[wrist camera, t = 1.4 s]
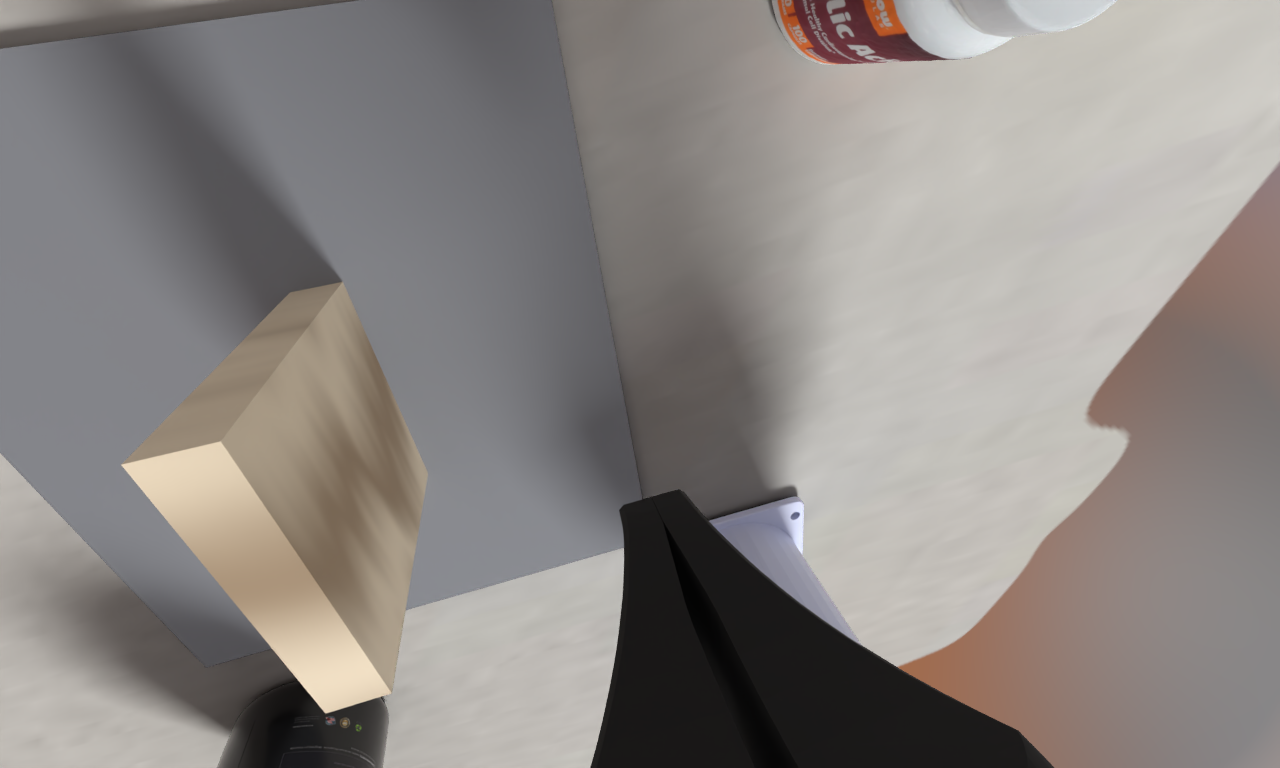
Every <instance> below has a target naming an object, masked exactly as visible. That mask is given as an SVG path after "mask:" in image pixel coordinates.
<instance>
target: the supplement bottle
mask: <svg viewBox="0 0 1280 768" xmlns="http://www.w3.org/2000/svg"><path fill="white" fill-rule="evenodd" d="M388 724H389V715H388V710H387V707H386V705H385V703H384V702H383V700H382V699H381V698H380V697H378V698H375V699H372V700H368V701H365V702H362V703H359V704H355V705H352V706H349V707H346V708H342V709H339V710H336V711H333V712H329V713H325V712H324V711H323V710H322V709H321V707H320V706H319V705H318V704H317V703H316V701H315V700H314V699H313V698H312V696H311V695H310V694H309V693H308V692H307V690H306V689H305V688H304V687H303V686H302V684H301V683H300V682H299V681H296V682H292V683H289V684H286V685H283V686H280V687H277V688H275V689H273V690H271V691H269V692H267V693H265V694H263V695H262V696H260V697H259V698H257V699H256V700H255V701H253V702H252V703H251V704H250V705H249V706H248V707H247V708H246V709H245V710H244V711H243V712H242V713H241V715H240V716H239V717H238V719H237V721H236V723H235V725H234V727H233V729H232V731H231V734H230V736H229V739H228V741H227V744H226V746H225V748H224V751H223V753H222V756H221V758H220V761H219V764H218V766H217V768H383V762H384V755H385V748H386V740H387V733H388Z"/></svg>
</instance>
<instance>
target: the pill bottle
mask: <svg viewBox="0 0 1280 768" xmlns="http://www.w3.org/2000/svg"><path fill="white" fill-rule="evenodd" d="M1116 1H1117V0H772V4H773V9H774V13H775V16H776V21H777V23H778V25H779V27H780V29H781V31H782V33H783V35H784V37H785V39H786V40H787V41H788V43H789V44H790V45H791V46H792V48H793V49H794V50H795V51H796V52H797V53H799V54H800V55H801V56H803V57H805V58H806V59H808V60H810V61H813V62H816V63H819V64H825V65H836V64H857V63H885V62H901V61H932V60H958V59H967V58H972V57H975V56H978V55H980V54H983V53H986V52H988V51H990V50H992V49H994V48H996V47H998V46H1000V45H1002V44H1004V43H1006V42H1007V41H1009V40H1010V39H1012V38H1013V37H1020V36H1027V35H1035V34H1046V33H1055V32H1060V31H1065V30H1068V29H1072V28H1075V27H1078V26H1080V25H1082V24H1084V23H1086V22H1088V21H1090V20H1091V19H1093V18H1095V17H1096V16H1098V15H1100V14H1101V13H1102V12H1104V11H1105V10H1106V9H1107V8H1109V7H1110V6H1111V5H1113V4H1114V3H1115V2H1116Z"/></svg>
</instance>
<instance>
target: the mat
mask: <svg viewBox="0 0 1280 768" xmlns="http://www.w3.org/2000/svg"><path fill="white" fill-rule="evenodd" d="M339 282H343V284H344V286H345V288H346V290H347V292H348V295H349V297H350V299H351V301H352V304H353V306H354V308H355V310H356V313H357V315H358V317H359V319H360V322H361V324H362V326H363V328H364V331H365V333H366V335H367V337H368V340H369V342H370V344H371V346H372V349H373V351H374V353H375V355H376V358H377V360H378V362H379V364H380V367H381V369H382V371H383V373H384V376H385V378H386V380H387V382H388V385H389V387H390V389H391V391H392V393H393V396H394V398H395V400H396V402H397V405H398V407H399V409H400V411H401V414H402V416H403V418H404V420H405V423H406V425H407V427H408V429H409V432H410V434H411V436H412V438H413V441H414V443H415V445H416V447H417V450H418V452H419V454H420V456H421V459H422V461H423V463H424V465H425V468H426V470H427V472H428V477H427V483H426V489H425V495H424V501H423V507H422V513H421V519H420V526H419V532H418V538H417V544H416V550H415V556H414V562H413V568H412V574H411V580H410V586H409V592H408V598H407V604H406V610H408V609H412V608H415V607H419V606H422V605H426V604H429V603H433V602H436V601H440V600H443V599H447V598H450V597H453V596H457V595H460V594H464V593H467V592H471V591H474V590H478V589H481V588H485V587H488V586H492V585H495V584H499V583H502V582H506V581H509V580H513V579H516V578H520V577H523V576H527V575H530V574H534V573H537V572H540V571H544V570H547V569H551V568H554V567H558V566H561V565H565V564H568V563H572V562H575V561H579V560H582V559H586V558H589V557H593V556H596V555H600V554H603V553H607V552H610V551H614V550H617V549H621V548H624V535H623V527H622V522H621V517H620V513H619V510H620V508H621V507H622V506H623V505H624V504H628V503H631V502H635V501H639V500H642V494H641V488H640V483H639V477H638V472H637V466H636V461H635V455H634V450H633V444H632V439H631V433H630V428H629V422H628V417H627V411H626V406H625V401H624V395H623V390H622V384H621V379H620V373H619V368H618V362H617V357H616V351H615V346H614V340H613V335H612V329H611V324H610V318H609V313H608V307H607V302H606V296H605V291H604V285H603V280H602V274H601V269H600V264H599V258H598V253H597V247H596V242H595V236H594V231H593V225H592V220H591V214H590V209H589V203H588V198H587V192H586V187H585V181H584V176H583V170H582V165H581V159H580V154H579V148H578V143H577V137H576V132H575V127H574V121H573V116H572V110H571V105H570V99H569V94H568V88H567V83H566V77H565V72H564V66H563V61H562V55H561V50H560V44H559V39H558V33H557V28H556V22H555V17H554V11H553V6H552V0H357V1H349V2H342V3H334V4H327V5H320V6H312V7H305V8H298V9H290V10H283V11H275V12H268V13H261V14H253V15H246V16H238V17H231V18H224V19H216V20H209V21H202V22H194V23H187V24H179V25H172V26H165V27H157V28H150V29H142V30H135V31H128V32H120V33H113V34H106V35H98V36H91V37H83V38H76V39H69V40H61V41H54V42H46V43H39V44H32V45H24V46H17V47H10V48H2V49H0V453H1V454H2V455H3V456H4V457H5V458H6V459H7V460H8V462H9V463H10V464H11V465H12V466H13V467H14V468H15V469H16V470H17V471H18V472H19V473H20V474H21V475H22V476H23V477H24V478H25V479H26V480H27V481H28V482H29V483H30V484H31V486H32V487H33V488H34V489H35V490H36V491H37V492H38V493H39V494H40V495H41V496H42V497H43V498H44V499H45V500H46V501H47V502H48V503H49V504H50V505H51V506H52V507H53V508H54V510H55V511H56V512H57V513H58V514H59V515H60V516H61V517H62V518H63V519H64V520H65V521H66V522H67V523H68V524H69V525H70V526H71V527H72V528H73V529H74V530H75V531H76V532H77V534H78V535H79V536H80V537H81V538H82V539H83V540H84V541H85V542H86V543H87V544H88V545H89V546H90V547H91V548H92V549H93V550H94V551H95V552H96V553H97V554H98V555H99V556H100V558H101V559H102V560H103V561H104V562H105V563H106V564H107V565H108V566H109V567H110V568H111V569H112V570H113V571H114V572H115V573H116V574H117V575H118V576H119V577H120V578H121V579H122V581H123V582H124V583H125V584H126V585H127V586H128V587H129V588H130V589H131V590H132V591H133V592H134V593H135V594H136V595H137V596H138V597H139V598H140V599H141V600H142V601H143V602H144V603H145V605H146V606H147V607H148V608H149V609H150V610H151V611H152V612H153V613H154V614H155V615H156V616H157V617H158V618H159V619H160V620H161V621H162V622H163V623H164V624H165V625H166V626H167V627H168V629H169V630H170V631H171V632H172V633H173V634H174V635H175V636H176V637H177V638H178V639H179V640H180V641H181V642H182V643H183V644H184V645H185V646H186V647H187V648H188V649H189V650H190V651H191V653H192V654H193V655H194V656H195V657H196V658H197V659H198V660H199V661H200V662H201V663H202V664H203V665H204V666H205V667H210V666H213V665H217V664H220V663H224V662H227V661H231V660H234V659H238V658H241V657H245V656H248V655H252V654H255V653H259V652H262V651H266V650H269V649H272V648H271V647H270V645H269V644H268V643H267V642H266V641H265V639H264V638H263V637H262V636H261V634H260V633H259V632H258V631H257V630H256V628H255V627H254V626H253V625H252V623H251V622H250V621H249V620H248V619H247V617H246V616H245V615H244V614H243V613H242V611H241V610H240V609H239V608H238V606H237V605H236V604H235V603H234V602H233V600H232V599H231V598H230V597H229V596H228V594H227V593H226V592H225V591H224V589H223V588H222V587H221V586H220V585H219V583H218V582H217V581H216V580H215V578H214V577H213V576H212V575H211V574H210V572H209V571H208V570H207V569H206V568H205V566H204V565H203V564H202V563H201V561H200V560H199V559H198V558H197V557H196V555H195V554H194V553H193V552H192V551H191V549H190V548H189V547H188V546H187V544H186V543H185V542H184V541H183V540H182V538H181V537H180V536H179V535H178V533H177V532H176V531H175V530H174V529H173V527H172V526H171V525H170V524H169V523H168V521H167V520H166V519H165V518H164V516H163V515H162V514H161V513H160V512H159V510H158V509H157V508H156V507H155V506H154V504H153V503H152V502H151V501H150V499H149V498H148V497H147V496H146V495H145V493H144V492H143V491H142V490H141V488H140V487H139V486H138V485H137V484H136V482H135V481H134V480H133V479H132V478H131V476H130V475H129V474H128V473H127V471H126V470H125V469H124V468H123V467H122V465H121V464H122V463H123V462H124V461H125V460H126V459H127V458H128V457H129V456H130V455H131V454H132V453H133V452H134V451H135V450H136V449H137V448H138V447H139V446H140V445H141V444H142V443H143V442H144V441H145V440H146V439H147V438H148V437H149V436H150V435H151V434H152V433H153V432H154V431H155V430H156V429H157V428H158V427H159V426H160V425H161V424H162V423H163V421H164V420H165V419H166V418H167V417H168V416H169V415H170V414H171V413H172V412H173V411H174V410H175V409H176V408H177V407H178V406H179V405H180V404H181V403H182V402H183V401H184V400H185V399H186V398H187V397H188V396H189V395H190V394H191V393H192V392H193V391H194V390H195V389H196V388H197V387H198V386H199V385H200V384H201V383H202V382H203V381H204V380H205V379H206V378H207V377H208V376H209V375H210V374H211V373H212V371H213V370H214V369H215V368H216V367H217V366H218V365H219V364H220V363H221V362H222V361H223V360H224V359H225V358H226V357H227V356H228V355H229V354H230V353H231V352H232V351H233V350H234V349H235V348H236V347H237V346H238V345H239V344H240V343H241V342H242V341H243V340H244V339H245V338H246V337H247V336H248V335H249V334H250V333H251V332H252V331H253V330H254V329H255V328H256V327H257V326H258V325H259V324H260V323H261V322H262V320H263V319H264V318H265V317H266V316H267V315H268V314H269V313H270V312H271V311H272V310H273V309H274V308H275V307H276V306H277V305H278V304H279V303H280V302H281V301H282V300H283V299H284V298H285V297H286V296H287V295H288V294H289V293H290V292H295V291H300V290H305V289H310V288H314V287H319V286H324V285H329V284H334V283H339Z"/></svg>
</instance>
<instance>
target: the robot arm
mask: <svg viewBox="0 0 1280 768" xmlns="http://www.w3.org/2000/svg"><path fill="white" fill-rule="evenodd" d="M619 513H620V517H621V522H622V527H623V535H624V584H623V599H622V609H621V618H620V627H619V636H618V643H617V650H616V656H615V662H614V668H613V673H612V679H611V684H610V689H609V694H608V698H607V703H606V708H605V712H604V717H603V721H602V726H601V730H600V734H599V738H598V742H597V746H596V750H595V754H594V757H593V761H592V764H591V768H1054V767H1053V766H1052V765H1051V764H1050V763H1049V762H1048V761H1047V760H1046V758H1045V757H1044V756H1043V755H1042V754H1041V753H1040V752H1039V751H1038V750H1037V749H1036V748H1035V747H1034V746H1033V745H1032V744H1031V743H1030V742H1029V741H1028V740H1027V739H1026V738H1025V737H1024V736H1023V735H1022V734H1021V733H1020V732H1019V731H1018V730H1016V729H1014V728H1012V727H1010V726H1008V725H1006V724H1003V723H1001V722H999V721H997V720H995V719H993V718H991V717H989V716H987V715H985V714H983V713H981V712H979V711H977V710H975V709H973V708H971V707H969V706H967V705H965V704H963V703H961V702H959V701H957V700H955V699H954V698H952V697H950V696H948V695H945V694H943V693H942V692H940V691H938V690H937V689H935V688H933V687H931V686H929V685H927V684H926V683H924V682H922V681H920V680H918V679H916V678H915V677H913V676H911V675H909V674H908V673H906V672H904V671H902V670H901V669H899V668H898V667H896V666H894V665H893V664H891V663H889V662H888V661H886V660H885V659H883V658H881V657H880V656H878V655H876V654H875V653H873V652H871V651H870V650H868V649H867V648H865V647H863V646H862V645H861V643H860V642H859V640H858V639H857V637H856V636H855V634H854V633H853V631H852V630H851V628H850V627H849V625H848V624H847V622H846V621H845V619H844V617H843V616H842V614H841V613H840V611H839V610H838V608H837V607H836V605H835V604H834V602H833V601H832V599H831V598H830V596H829V595H828V593H827V592H826V590H825V589H824V587H823V586H822V584H821V583H820V581H819V580H818V578H817V577H816V575H815V574H814V572H813V571H812V569H811V568H810V566H809V565H808V563H807V562H806V560H805V559H804V557H803V522H804V504H803V502H802V500H801V499H800V498H799V497H796V496H795V497H790V498H786V499H783V500H779V501H776V502H772V503H769V504H765V505H762V506H758V507H755V508H751V509H748V510H744V511H741V512H737V513H734V514H730V515H727V516H723V517H720V518H716V519H713V520H709V521H708V520H707V519H706V517H705V516H704V515H703V514H702V513H701V512H700V511H699V510H698V508H697V507H696V506H695V505H694V504H693V503H692V501H691V500H690V499H689V498H688V496H687V495H686V494H685V493H684V492H683V491H681V490H675V491H671V492H668V493H664V494H660V495H657V496H653V497H652V498H651V497H650V498H646V499H642V500H639V501H635V502H631V503H628V504H624V505H623V506H622V507H621V508H620V510H619Z"/></svg>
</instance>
